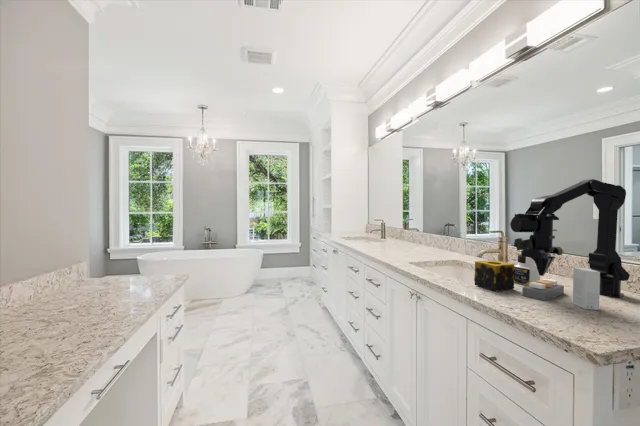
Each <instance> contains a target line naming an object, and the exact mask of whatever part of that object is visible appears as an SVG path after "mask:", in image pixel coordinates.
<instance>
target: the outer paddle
mask: <svg viewBox="0 0 640 426" xmlns="http://www.w3.org/2000/svg"><path fill="white" fill-rule="evenodd" d="M529 287H533V288H538V289H545V288H546V284H541V283H536V282H531V283H529Z"/></svg>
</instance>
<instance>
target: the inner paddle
mask: <svg viewBox="0 0 640 426" xmlns="http://www.w3.org/2000/svg"><path fill="white" fill-rule="evenodd" d="M541 281H546V282H552V285H557V284H558V280H557V279H556V280H555V279H551V278H550V279H549V278H542V279H541Z"/></svg>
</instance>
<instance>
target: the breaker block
mask: <svg viewBox="0 0 640 426" xmlns="http://www.w3.org/2000/svg"><path fill="white" fill-rule="evenodd" d="M564 286H565V285H563V284H559V283H557V285H552V286H551V287H546V288H545V289H538V288H533V287H529V285H528V286H527V285H524V286H523V287H522V290H521V291H522V292H521V293H522V295H521V296H523V297H527V298H531V299H535V300H540V301H545V302H546V301H549V300H551V299H554V298H556V297H558V296H561V295H563V294H564V293H565V287H564Z"/></svg>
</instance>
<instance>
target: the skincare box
mask: <svg viewBox="0 0 640 426" xmlns="http://www.w3.org/2000/svg"><path fill="white" fill-rule="evenodd" d="M572 271H573V272H572V273H573V275H572V276H573V277H572V304H574V305H575V306H577V307H579V308H582V309H584V310H593V311H594V310H595V311H597V310H598V311H600V295H601V294H600V272H598V271H595V270H591V268H587V267H586V268H585V267H573V270H572Z"/></svg>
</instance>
